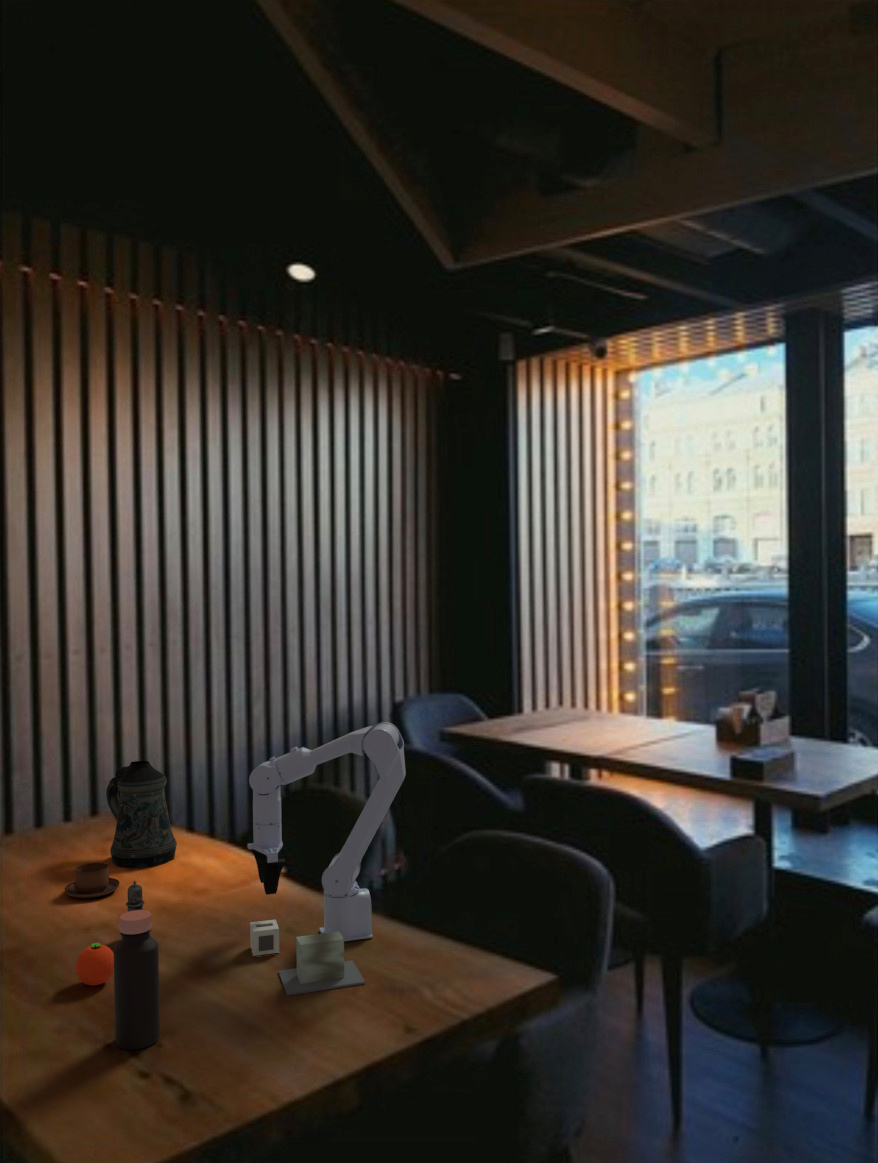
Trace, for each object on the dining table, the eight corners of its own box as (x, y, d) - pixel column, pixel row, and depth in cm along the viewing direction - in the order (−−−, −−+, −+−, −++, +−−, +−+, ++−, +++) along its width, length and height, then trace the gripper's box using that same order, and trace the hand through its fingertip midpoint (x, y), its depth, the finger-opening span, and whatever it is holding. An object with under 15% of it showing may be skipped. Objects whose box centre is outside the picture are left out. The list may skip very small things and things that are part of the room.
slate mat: (352, 962, 181) (352, 960, 181) (365, 983, 171) (365, 981, 171) (278, 972, 177) (278, 970, 177) (287, 995, 167) (287, 993, 167)
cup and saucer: (53, 899, 219) (52, 872, 219) (90, 882, 230) (90, 857, 230) (94, 905, 214) (94, 878, 214) (130, 888, 225) (130, 862, 225)
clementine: (74, 977, 176) (74, 939, 176) (114, 970, 178) (113, 933, 178) (76, 995, 168) (75, 955, 168) (118, 988, 171) (117, 948, 171)
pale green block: (339, 968, 177) (339, 931, 177) (344, 977, 173) (343, 939, 173) (296, 974, 175) (296, 936, 174) (300, 983, 171) (299, 944, 171)
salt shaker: (141, 946, 190) (140, 886, 190) (114, 944, 191) (113, 884, 191) (156, 934, 196) (155, 876, 196) (130, 933, 197) (129, 875, 197)
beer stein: (166, 868, 240) (164, 769, 239) (89, 869, 240) (87, 770, 240) (184, 849, 256) (183, 756, 256) (112, 849, 256) (110, 757, 256)
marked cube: (275, 944, 190) (275, 918, 190) (279, 954, 185) (279, 928, 185) (250, 947, 189) (250, 921, 189) (253, 957, 184) (253, 931, 184)
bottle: (135, 1055, 147) (133, 926, 147) (105, 1044, 151) (103, 918, 150) (169, 1036, 153) (167, 912, 153) (140, 1026, 156) (138, 904, 156)
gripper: (243, 814, 201) (244, 879, 201) (251, 832, 187) (252, 901, 188) (277, 811, 203) (278, 875, 204) (287, 829, 190) (288, 897, 190)
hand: (268, 887), depth 196 cm, fingers open, 7 cm apart
